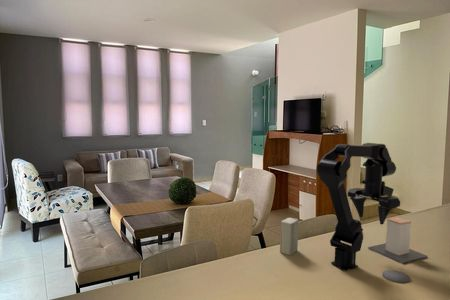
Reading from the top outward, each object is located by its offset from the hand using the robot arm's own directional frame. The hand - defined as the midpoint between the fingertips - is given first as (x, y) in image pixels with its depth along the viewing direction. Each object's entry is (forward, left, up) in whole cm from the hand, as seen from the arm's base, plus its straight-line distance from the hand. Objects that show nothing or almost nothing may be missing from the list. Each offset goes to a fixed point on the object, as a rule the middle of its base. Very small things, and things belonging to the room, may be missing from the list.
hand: (371, 220), depth 127 cm
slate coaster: (-6, -16, -13) cm, 21 cm away
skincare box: (-25, +15, -13) cm, 32 cm away
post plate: (+11, -3, -13) cm, 17 cm away
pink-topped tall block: (+11, -3, -12) cm, 17 cm away
